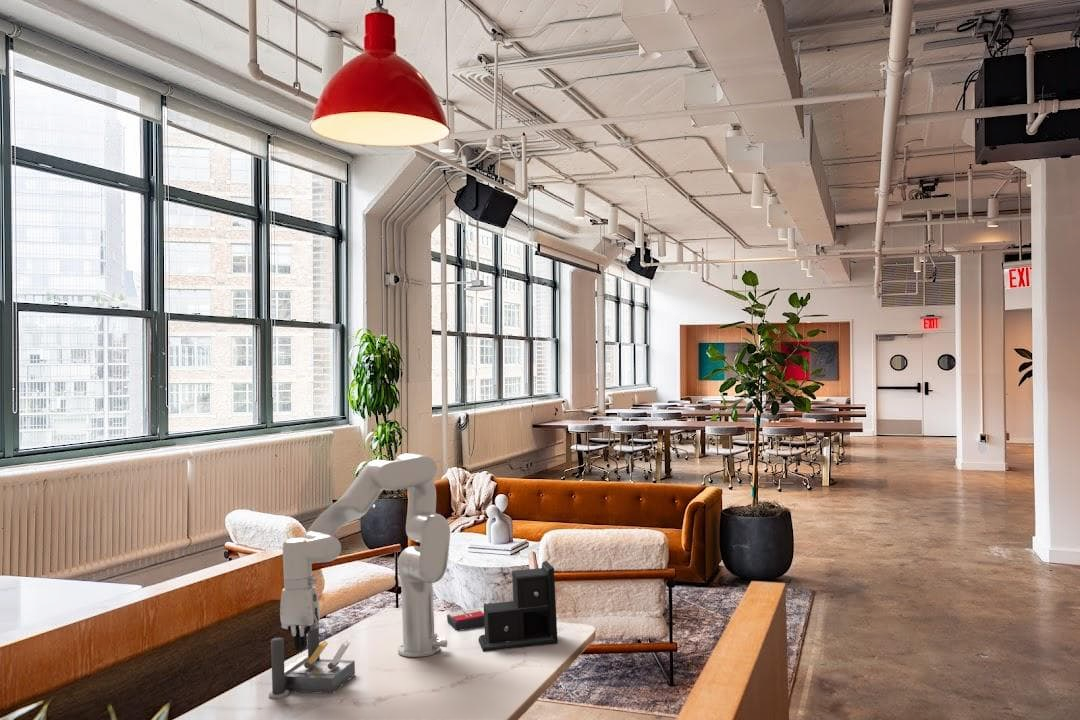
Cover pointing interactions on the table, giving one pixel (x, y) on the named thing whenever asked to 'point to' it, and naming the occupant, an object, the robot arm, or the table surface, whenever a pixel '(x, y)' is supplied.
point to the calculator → (466, 618)
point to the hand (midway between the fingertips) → (300, 649)
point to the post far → (313, 641)
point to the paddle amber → (315, 654)
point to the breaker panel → (317, 675)
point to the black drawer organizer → (523, 612)
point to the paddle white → (338, 655)
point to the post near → (278, 669)
